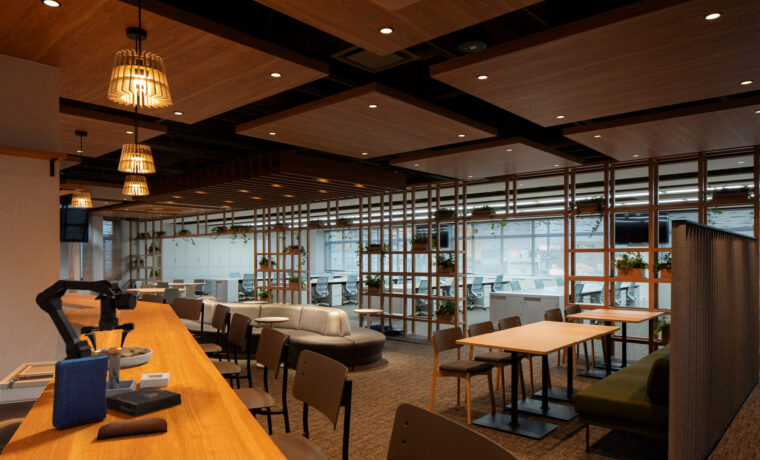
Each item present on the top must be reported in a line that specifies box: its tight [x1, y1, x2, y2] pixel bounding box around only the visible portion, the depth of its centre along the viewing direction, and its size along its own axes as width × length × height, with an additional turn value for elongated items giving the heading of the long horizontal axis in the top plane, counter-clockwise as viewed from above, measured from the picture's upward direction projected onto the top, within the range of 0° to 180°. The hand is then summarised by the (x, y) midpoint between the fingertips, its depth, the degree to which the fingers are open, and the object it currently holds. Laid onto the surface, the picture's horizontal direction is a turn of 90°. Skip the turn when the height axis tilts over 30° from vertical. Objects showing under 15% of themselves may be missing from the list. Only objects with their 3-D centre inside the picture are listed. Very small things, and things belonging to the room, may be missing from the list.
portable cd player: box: [106, 387, 183, 418], centre depth 168 cm, size 16×17×4 cm
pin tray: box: [105, 379, 137, 400], centre depth 180 cm, size 14×14×4 cm
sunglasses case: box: [96, 416, 168, 441], centre depth 143 cm, size 18×7×7 cm, turn 115°
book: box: [51, 354, 108, 430], centre depth 149 cm, size 14×5×20 cm, turn 141°
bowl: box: [90, 346, 154, 370], centre depth 233 cm, size 30×30×8 cm
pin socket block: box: [139, 372, 171, 389], centre depth 197 cm, size 10×10×3 cm
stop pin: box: [107, 346, 122, 389], centre depth 180 cm, size 4×4×16 cm
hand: (108, 349), depth 199 cm, fingers open, 9 cm apart
